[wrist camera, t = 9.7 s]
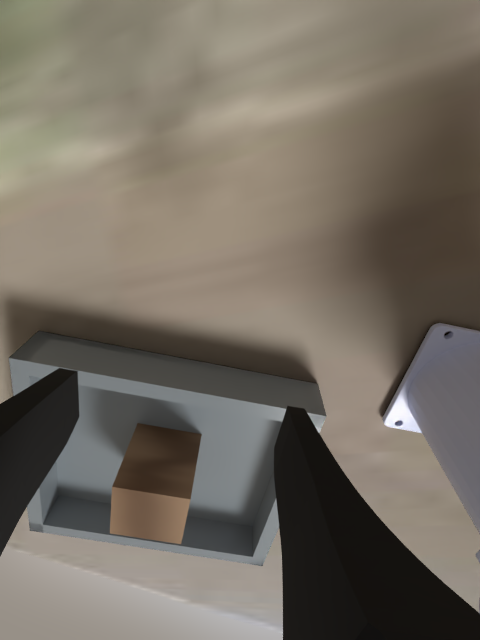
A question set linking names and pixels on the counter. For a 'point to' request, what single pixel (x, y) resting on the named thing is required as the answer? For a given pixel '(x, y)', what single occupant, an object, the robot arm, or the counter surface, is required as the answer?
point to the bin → (174, 413)
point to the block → (155, 484)
